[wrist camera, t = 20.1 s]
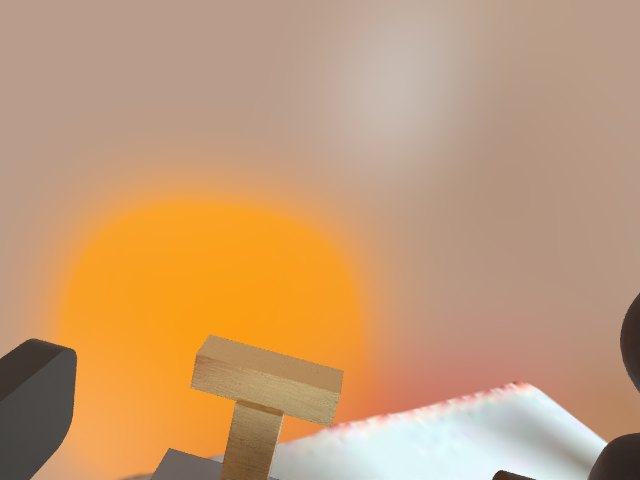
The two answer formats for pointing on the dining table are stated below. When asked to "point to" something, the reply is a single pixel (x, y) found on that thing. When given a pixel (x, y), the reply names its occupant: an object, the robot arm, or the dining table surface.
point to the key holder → (187, 467)
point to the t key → (262, 399)
